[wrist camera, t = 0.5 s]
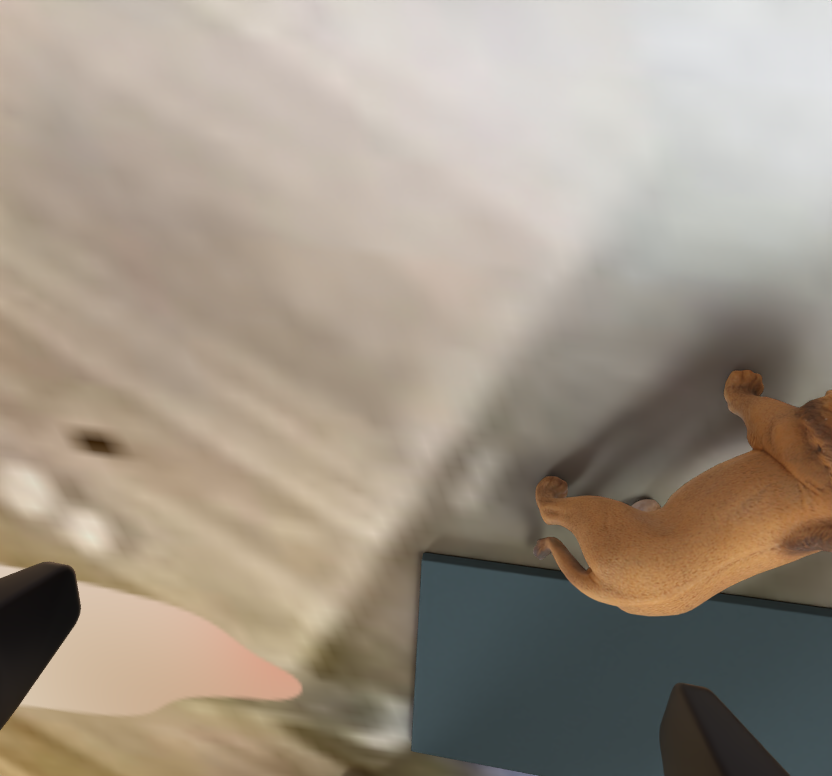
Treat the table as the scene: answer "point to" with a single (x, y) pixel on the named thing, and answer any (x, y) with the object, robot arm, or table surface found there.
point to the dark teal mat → (605, 673)
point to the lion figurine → (706, 514)
